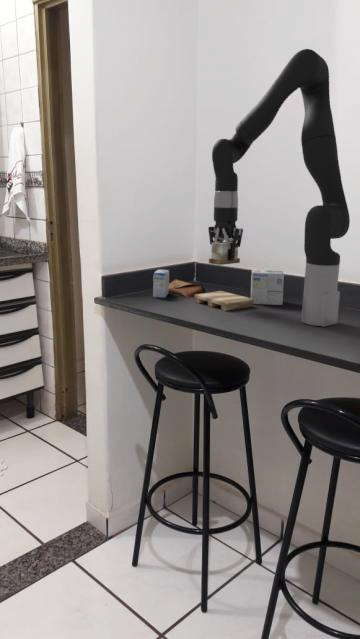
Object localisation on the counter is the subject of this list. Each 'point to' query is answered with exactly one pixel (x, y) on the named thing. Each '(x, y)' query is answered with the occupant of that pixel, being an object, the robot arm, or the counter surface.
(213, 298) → the dock
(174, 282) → the sunglasses case
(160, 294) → the medicine box
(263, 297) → the light bulb box
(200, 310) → the counter surface
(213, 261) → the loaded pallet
